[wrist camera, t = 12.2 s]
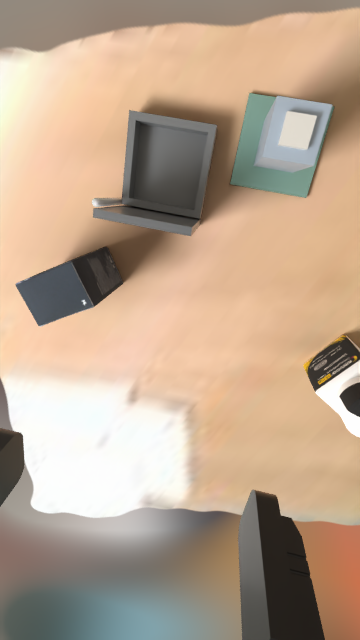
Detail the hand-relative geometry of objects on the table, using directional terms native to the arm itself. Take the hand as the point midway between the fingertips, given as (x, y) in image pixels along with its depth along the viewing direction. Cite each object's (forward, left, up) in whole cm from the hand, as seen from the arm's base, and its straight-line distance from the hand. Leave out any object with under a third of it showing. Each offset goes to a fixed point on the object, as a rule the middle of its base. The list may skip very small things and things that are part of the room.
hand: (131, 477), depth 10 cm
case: (+6, -11, -33) cm, 35 cm away
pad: (-6, -15, -33) cm, 37 cm away
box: (+15, +4, -33) cm, 37 cm away
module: (-6, -15, -33) cm, 36 cm away
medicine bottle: (-22, +10, -33) cm, 41 cm away
